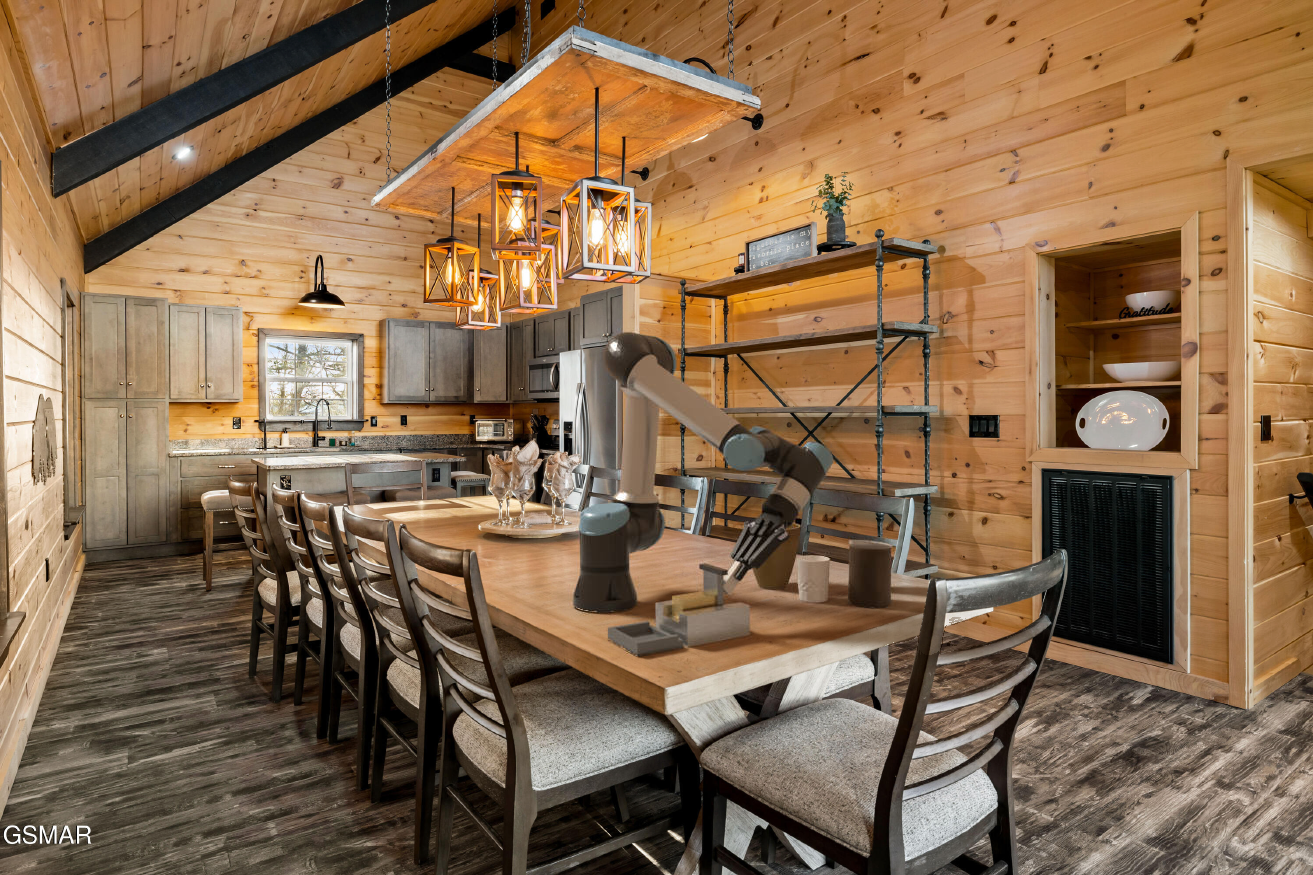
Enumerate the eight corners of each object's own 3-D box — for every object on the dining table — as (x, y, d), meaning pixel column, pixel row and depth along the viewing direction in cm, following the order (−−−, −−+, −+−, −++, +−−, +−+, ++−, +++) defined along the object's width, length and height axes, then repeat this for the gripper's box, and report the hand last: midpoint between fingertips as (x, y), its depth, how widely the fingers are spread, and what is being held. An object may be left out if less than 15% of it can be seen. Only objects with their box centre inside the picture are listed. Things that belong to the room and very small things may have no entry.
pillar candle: (866, 609, 165) (867, 544, 165) (839, 600, 174) (840, 537, 174) (900, 605, 169) (901, 541, 169) (872, 596, 178) (872, 535, 178)
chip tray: (651, 632, 149) (651, 620, 149) (683, 647, 139) (682, 634, 139) (607, 640, 144) (607, 627, 144) (637, 656, 134) (637, 643, 134)
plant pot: (793, 579, 198) (792, 520, 197) (807, 592, 183) (807, 528, 183) (738, 580, 197) (738, 521, 197) (748, 593, 182) (748, 529, 182)
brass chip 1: (688, 612, 149) (688, 593, 149) (699, 617, 145) (699, 597, 145) (672, 615, 147) (672, 595, 147) (682, 620, 143) (682, 600, 143)
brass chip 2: (704, 610, 151) (704, 590, 151) (716, 614, 147) (715, 594, 147) (688, 612, 149) (688, 593, 149) (699, 617, 145) (699, 597, 145)
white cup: (830, 604, 171) (830, 561, 171) (796, 602, 172) (796, 560, 172) (829, 596, 179) (829, 555, 178) (796, 595, 180) (796, 554, 180)
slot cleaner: (705, 605, 153) (705, 563, 153) (728, 614, 146) (727, 569, 146) (699, 606, 153) (699, 564, 152) (721, 615, 146) (721, 570, 146)
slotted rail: (715, 621, 157) (715, 593, 157) (749, 634, 147) (749, 605, 147) (655, 631, 150) (655, 602, 149) (687, 647, 139) (687, 615, 139)
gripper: (815, 517, 154) (754, 608, 145) (774, 511, 165) (715, 594, 157) (796, 494, 151) (732, 585, 143) (755, 489, 162) (695, 573, 154)
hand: (724, 590), depth 150 cm, fingers closed
